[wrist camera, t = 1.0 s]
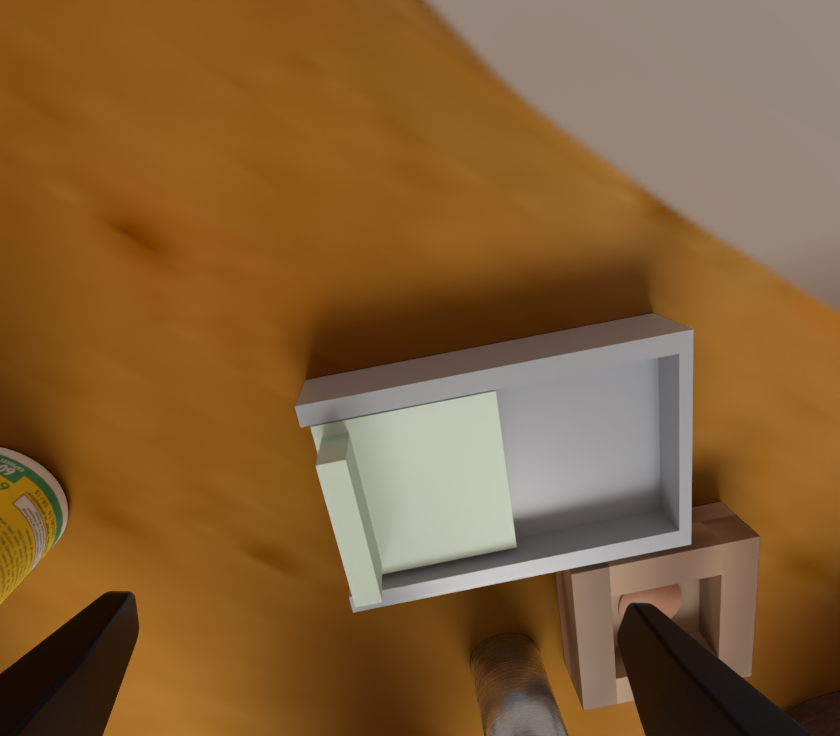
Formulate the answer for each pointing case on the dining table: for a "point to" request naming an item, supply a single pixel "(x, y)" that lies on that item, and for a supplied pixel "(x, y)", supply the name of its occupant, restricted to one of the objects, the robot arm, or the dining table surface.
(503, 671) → the peg
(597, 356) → the gray box
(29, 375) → the dining table surface
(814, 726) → the dark ball on stand
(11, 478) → the supplement bottle
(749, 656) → the socket board
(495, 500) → the lid
